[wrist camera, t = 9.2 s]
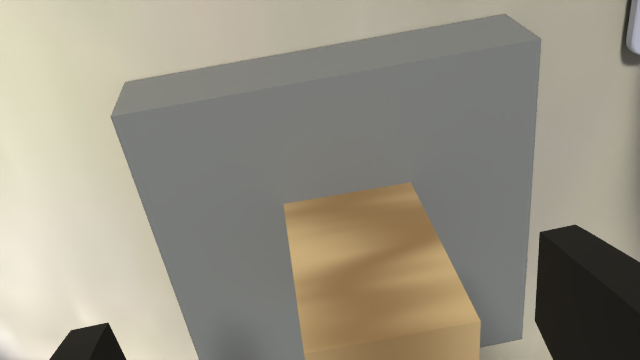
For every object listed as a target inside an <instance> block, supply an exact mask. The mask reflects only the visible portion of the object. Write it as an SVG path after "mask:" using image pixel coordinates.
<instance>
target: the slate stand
mask: <svg viewBox="0 0 640 360" xmlns="http://www.w3.org/2000/svg"><path fill="white" fill-rule="evenodd" d="M540 50H541V38H540V37H538V36H537V35H535V34H534V33H532V32H531V31H529V30H528V29H527V28H525V27H524V26H522V25H521V24H519V23H518V22H516V21H515V20H513V19H512V18H511V17H509V16H508V15H506V14H503V15H497V16H492V17H486V18H480V19H475V20H469V21H464V22H458V23H452V24H447V25H441V26H436V27H430V28H425V29H419V30H413V31H408V32H402V33H397V34H391V35H386V36H380V37H374V38H369V39H363V40H358V41H352V42H346V43H341V44H335V45H330V46H324V47H319V48H313V49H307V50H302V51H296V52H291V53H285V54H280V55H274V56H268V57H263V58H257V59H252V60H246V61H240V62H235V63H229V64H224V65H218V66H213V67H207V68H201V69H196V70H190V71H185V72H179V73H173V74H168V75H162V76H157V77H151V78H146V79H140V80H134V81H129V82H125V83H124V86H123V88H122V90H121V93H120V95H119V98H118V100H117V102H116V105H115V107H114V110H113V112H112V115H111V119H112V122H113V125H114V127H115V130H116V133H117V136H118V138H119V141H120V144H121V146H122V149H123V152H124V155H125V157H126V160H127V163H128V166H129V168H130V171H131V174H132V177H133V179H134V182H135V185H136V188H137V190H138V193H139V196H140V199H141V201H142V204H143V207H144V210H145V212H146V215H147V218H148V221H149V223H150V226H151V229H152V232H153V234H154V237H155V240H156V243H157V245H158V248H159V251H160V254H161V256H162V259H163V262H164V264H165V267H166V270H167V273H168V275H169V278H170V281H171V284H172V286H173V289H174V292H175V295H176V297H177V300H178V303H179V306H180V308H181V311H182V314H183V317H184V319H185V322H186V325H187V328H188V330H189V333H190V336H191V339H192V341H193V344H194V347H195V350H196V352H197V355H198V358H199V360H305V356H304V350H303V343H302V336H301V328H300V321H299V314H298V307H297V299H296V292H295V285H294V278H293V270H292V263H291V256H290V248H289V241H288V234H287V227H286V219H285V212H284V205H283V204H287V203H293V202H298V201H304V200H310V199H316V198H322V197H328V196H334V195H339V194H345V193H351V192H357V191H363V190H369V189H375V188H380V187H386V186H392V185H398V184H404V183H410V182H411V184H412V186H413V188H414V190H415V192H416V194H417V196H418V198H419V200H420V202H421V204H422V206H423V208H424V209H425V211H426V213H427V215H428V217H429V219H430V221H431V223H432V225H433V227H434V229H435V231H436V233H437V235H438V237H439V239H440V241H441V243H442V245H443V247H444V249H445V251H446V253H447V255H448V257H449V259H450V261H451V263H452V265H453V267H454V269H455V271H456V273H457V275H458V277H459V279H460V281H461V283H462V285H463V287H464V289H465V291H466V293H467V295H468V297H469V299H470V301H471V303H472V305H473V307H474V309H475V311H476V313H477V315H478V317H479V319H480V321H481V328H480V347H485V346H490V345H495V344H500V343H505V342H510V341H515V340H520V339H522V330H523V315H524V299H525V284H526V268H527V252H528V237H529V221H530V206H531V190H532V175H533V159H534V143H535V128H536V112H537V97H538V81H539V66H540Z"/></svg>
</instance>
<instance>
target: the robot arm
mask: <svg viewBox="0 0 640 360" xmlns="http://www.w3.org/2000/svg"><path fill="white" fill-rule="evenodd" d="M626 46H627V47H628V49H629V50H630V51H632V52H634V53H636V54H638V55H640V0H632V3H631V10H630V17H629V24H628V31H627V38H626ZM535 322H536V324H537V326H538V328H539V330H540V333H541V335H542V337H543V339H544V341H545V343H546V346H547V348H548V350H549V352H550V354H551V356H552V358H553V360H640V262H638V261H637V260H635V259H633V258H631V257H630V256H628V255H626V254H625V253H623V252H621V251H620V250H618V249H616V248H615V247H613V246H611V245H610V244H608V243H606V242H605V241H603V240H601V239H600V238H598V237H596V236H595V235H593V234H591V233H589V232H588V231H586V230H584V229H582V228H581V227H579V226H577V225H572V226H567V227H562V228H557V229H552V230H548V231H543V232H540V238H539V255H538V273H537V291H536V309H535ZM50 360H126V358H125V356H124V354H123V352H122V350H121V348H120V346H119V344H118V342H117V339H116V337H115V335H114V333H113V331H112V329H111V327H110V325H109V323H104V324H99V325H94V326H90V327H85V328H80V329H75V330H71V331H70V332H69V334H68V335H67V336H66V338H65V339H64V340H63V342H62V343H61V344H60V346H59V347H58V349H57V350H56V351H55V353H54V354H53V355H52V357H51V358H50Z"/></svg>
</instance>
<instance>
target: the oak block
mask: <svg viewBox="0 0 640 360" xmlns="http://www.w3.org/2000/svg"><path fill="white" fill-rule="evenodd" d="M283 205H284V212H285V219H286V227H287V234H288V241H289V248H290V256H291V263H292V270H293V278H294V285H295V292H296V299H297V307H298V314H299V321H300V328H301V336H302V343H303V350H304V356H305V360H479V353H480V328H481V321H480V319H479V317H478V315H477V313H476V311H475V309H474V307H473V305H472V303H471V301H470V299H469V297H468V295H467V293H466V291H465V289H464V287H463V285H462V283H461V281H460V279H459V277H458V275H457V273H456V271H455V269H454V267H453V265H452V263H451V261H450V259H449V257H448V255H447V253H446V251H445V249H444V247H443V245H442V243H441V241H440V239H439V237H438V235H437V233H436V231H435V229H434V227H433V225H432V223H431V221H430V219H429V217H428V215H427V213H426V211H425V209H424V208H423V206H422V204H421V202H420V200H419V198H418V196H417V194H416V192H415V190H414V188H413V186H412V184H411V182H410V183H404V184H398V185H392V186H386V187H380V188H375V189H369V190H363V191H357V192H351V193H345V194H339V195H334V196H328V197H322V198H316V199H310V200H304V201H298V202H293V203H287V204H283Z"/></svg>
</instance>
